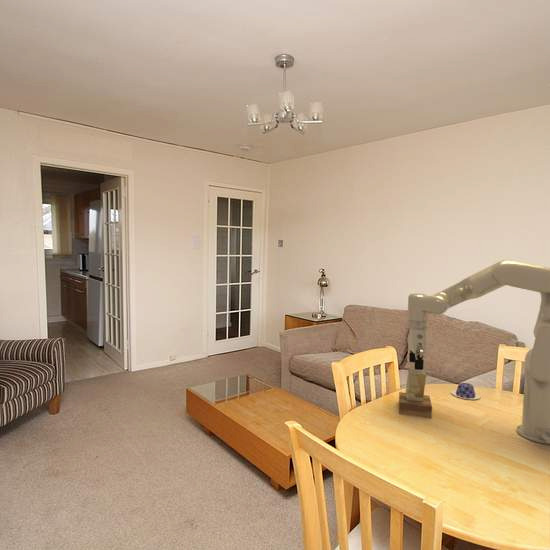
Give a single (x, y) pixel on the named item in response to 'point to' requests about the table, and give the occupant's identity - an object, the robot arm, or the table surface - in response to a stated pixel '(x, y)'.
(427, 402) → the walnut block
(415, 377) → the skincare box
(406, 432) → the table surface
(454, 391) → the checkered brimmed hat
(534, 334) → the robot arm
